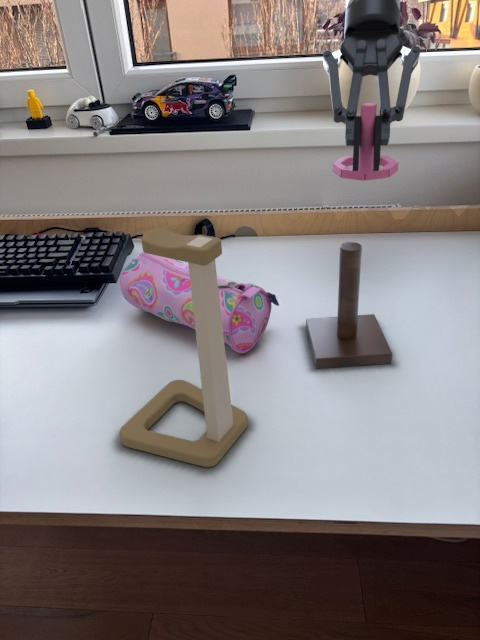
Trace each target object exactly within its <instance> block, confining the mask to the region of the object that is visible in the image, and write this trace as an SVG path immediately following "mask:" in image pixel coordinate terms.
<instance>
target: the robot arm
mask: <svg viewBox="0 0 480 640" xmlns="http://www.w3.org/2000/svg"><path fill="white" fill-rule="evenodd" d="M400 24H401V0H345V16H344V32H343V40H342V42H341V44H340V45H339V49H337V50H334V51H333V52H332V51H331V50H325V51H324V52H323V53H322V63H323V69H324V71H325V73H326V75H327V76H328V81H329V91H330V100H331V110H332V121H333V122H334V123H335V124H339V123H343V124H344V125H345V133H344V135H345V136H344V140H345V141H344V143H345V146H346V147H353V151H352V152H353V153H352V155H353V165H352V168H353V171H358V167H359V147H360V125H361V115H358V107H359V102H360V95H361V89H362V84H363V78H364V77H366V76H374V77H375V79H376V81H375V82H376V87H377V99H378V112H379V115H376V120H375V136H374V157H373V171H379V168H380V155H381V146H388V145H389V143H390V138H391V137H390V136H391V124H392V123H393V122H401V121H402V120H403V119H404V114H405V110H406V105H407V100H408V94H409V89H410V83H411V78H412V74H413V72H414V71H415V69H416V67H417V66H418V65H419V60H420V55H421V47H420V46H417V45H416V46H413V47H412V48H409V47H407V46H404V42H403V40H402V39H401V37H400V27H401V25H400ZM399 58H400V65H401V66H402V71H401V77H400V82H399V87H398V91H397V98H396V103H395V106H393V107H391V98H390V85H389V74H388V72H389V69H390V68H391V67H392V66H393V64H394V63H395V62H396V61H397V60H398V59H399ZM341 61H343V62H344V64H345V65H346V66H347V67H348V68H349V69H350V71H351V72H352V76H351V83H350V88H349V94H348V101H347V107H346V108H344V107H343V102H342V94H341V85H340V83H341V82H340V75H339V68H340V67H341Z"/></svg>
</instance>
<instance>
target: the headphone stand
mask: <svg viewBox="0 0 480 640" xmlns="http://www.w3.org/2000/svg"><path fill="white" fill-rule="evenodd" d="M140 240H141V246H142V247H141V248H142V252H144V253H147V254H152V255H156V256H161V257H166V258H170V259H175V260H178V261H180V262H183V263H187V264H188V265H187V266H188V267H189V275H190V284H191V293H192V302H193V311H194V321H195V329H194V330H195V338H196V347H197V357H198V364H199V374H200V375H199V376H200V383H201V388H200V387H198V386H196V385H195V384H193V383H191V382H189V381H187V380H185V379H175V380H171V381H170V382H169V383H168V384H166V385H165V386H164V387H163V388H162V389H161V390H160V391H159V392H158V393H157V394H156V395H154V396H153V397H152V398H151V399H150V400H149V401H148V402H147V403H146V404H145V405H144V406H143V407H142V408H141V409H139V410H138V411H137V412H136V413H135V414H134V415H133V416H132V417H131V418H129V420H127V422H126V423H124V424H123V425H122V426H121V428H120V429H119V437H120V442H121V444H122V445H123V446H125V447H127V448H131V449H135V450H138V451H141V452H146V453H149V454H153V455H158V456H160V457H165V458H169V459H173V460H175V461H181V462H183V463H188V464H191V465H196V466H200V467H204V468H211V467H214V466H216V465H217V464H218V463H219V462H220V461H221V460H222V459H223V457H224V456H225V455H226V454H227V453H228V451H229V450H230V449H231V448H232V446H233V445H234V444H235V443H236V441H237V440H238V439H239V438H240V437H241V435H242V434H243V432H245V430H246V429H247V428H248V426H249V425H248V424H249V421H248V414H247V413H246V412H245V411H244V410H243V409H240V408H238V407H237V406H235V405H233V404H232V398H231V389H230V382H229V371H228V363H227V356H226V346H225V345H226V344H225V342H224V336H223V327H222V318H221V309H220V300H219V291H218V282H217V276H218V274H217V273H218V272H217V266H216V265H217V264H216V259H217V258H219V257H220V256H222V255H223V245H222V239H221V238H220V237H215V236H210V235H206V234H195V235H185V234H180V233H179V234H178V233H175V232H171V231H169V230H167V229H164V228H162V227H159V228H153V229H150V230H149V229H148V230H144V232H143V234H142V236H141V239H140ZM179 402H185V403H186V404H188V405H190V406H192V407H194V408H195V409H197V410H199V411H201V412H203V413H204V421H205V429H206V430H205V433H204V434H202V435H201V437H200V438H199V439H197V440H188V439H185V438H180V437H176V436H172V435H168V434H165V433H160V432H155V431H151V430H149V429H150V428H151V427H152V426H153V425H154V424H156V422H157V421H158V420H159V419H160V418H161V417H162V416H163V415H164V414H165V413H166V412H167V411H168V410H169V409H170V408H171V407H173V405H175V404H176V403H179Z"/></svg>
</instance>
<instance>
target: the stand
mask: <svg viewBox="0 0 480 640" xmlns="http://www.w3.org/2000/svg"><path fill="white" fill-rule="evenodd" d="M362 249H363V246H362V244H361V243H358V242H356V241H355V242H354V241H348V242H347V241H346V242H343V243H341V244H340V246H339V264H338V291H337V292H338V293H337V294H338V296H337V316H328V317H327V316H326V317H313V318H312V317H311V318H306V319H305V330H306V334H307V338H308V343H309V347H310V350H311V354H312V359H313V363H314V367H315V369H331V368H345V367H358V366H359V367H361V366H374V365H387V364H388V365H389V364H392V360H393V352H392V350H391V347H390V345H389V343H388V341H387V339H386V337H385V335H384V332H383V330H382V328H381V326H380V324H379V321H378V319H377V316H376V315H375V313H370V314H369V313H368V314H359V301H360V285H361V284H360V283H361V268H362V267H361V265H362Z"/></svg>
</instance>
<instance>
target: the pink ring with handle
mask: <svg viewBox="0 0 480 640" xmlns="http://www.w3.org/2000/svg"><path fill="white" fill-rule="evenodd" d="M377 107H378V105H377V103H375V102H365V103H362V104H360V116H361V125H360V147H359V167H358V171H353V154H352V155H345V156H342V157H340V158H338V159H336V160H335V161H334V162H332V168H331V169H332V173H334V174H335V175H336V176H337V177H339V178H341V179H347V180H354V181H355V180H356V181H362V182H364V181H365V182H366V181H374V180H380V179H381V180H382V179H388V178H390V177H392V176H393V175H394V174H396V173H397V172H398V171H399V161H397V160H396V159H394V158H392V157H391V156H388V155H383V154H382V155H381V154H380V165H379V171H373V157H374V136H375V120H376V116H377ZM351 166H352V167H351Z"/></svg>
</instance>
